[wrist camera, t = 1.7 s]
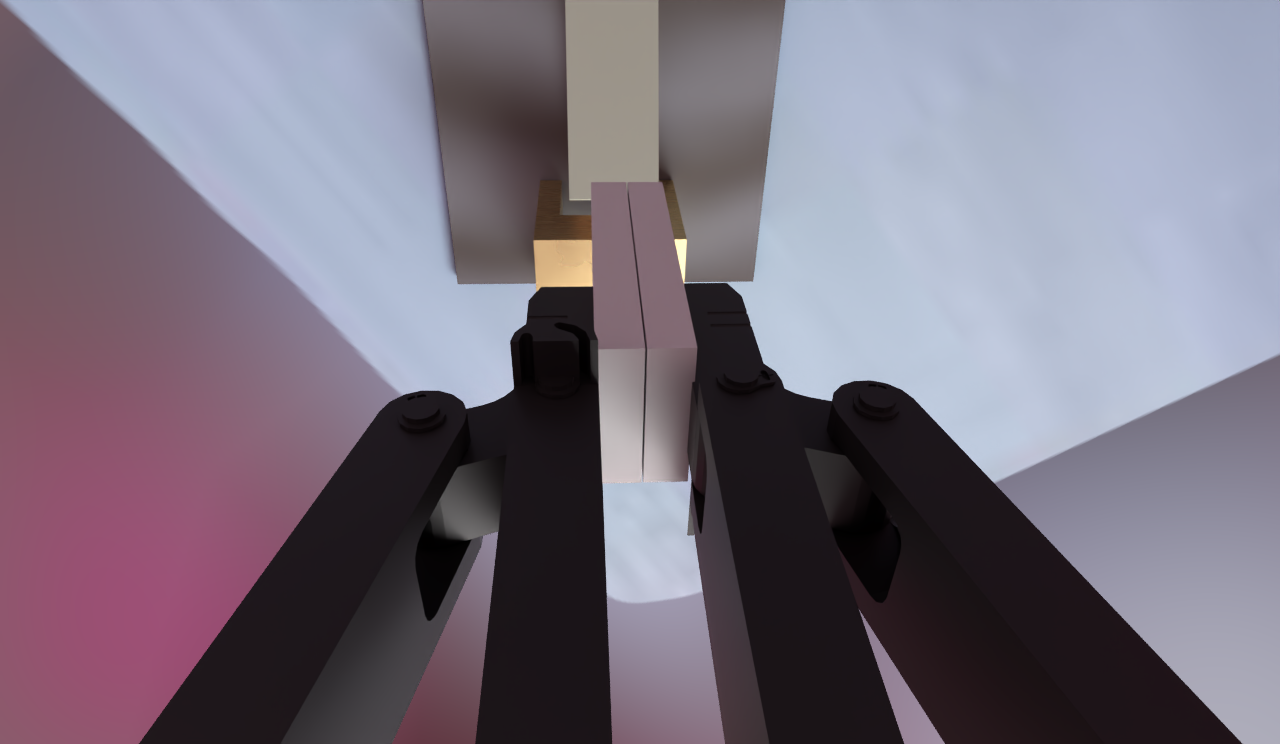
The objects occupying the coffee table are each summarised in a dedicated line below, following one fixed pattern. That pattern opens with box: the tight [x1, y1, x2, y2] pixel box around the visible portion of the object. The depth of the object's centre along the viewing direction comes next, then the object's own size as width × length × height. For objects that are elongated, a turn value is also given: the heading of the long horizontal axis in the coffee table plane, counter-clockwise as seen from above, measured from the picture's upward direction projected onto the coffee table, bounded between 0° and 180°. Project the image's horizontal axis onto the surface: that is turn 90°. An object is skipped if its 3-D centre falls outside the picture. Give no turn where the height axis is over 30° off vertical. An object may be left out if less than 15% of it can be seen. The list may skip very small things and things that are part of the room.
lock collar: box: [533, 180, 687, 291], centre depth 37 cm, size 5×6×6 cm
